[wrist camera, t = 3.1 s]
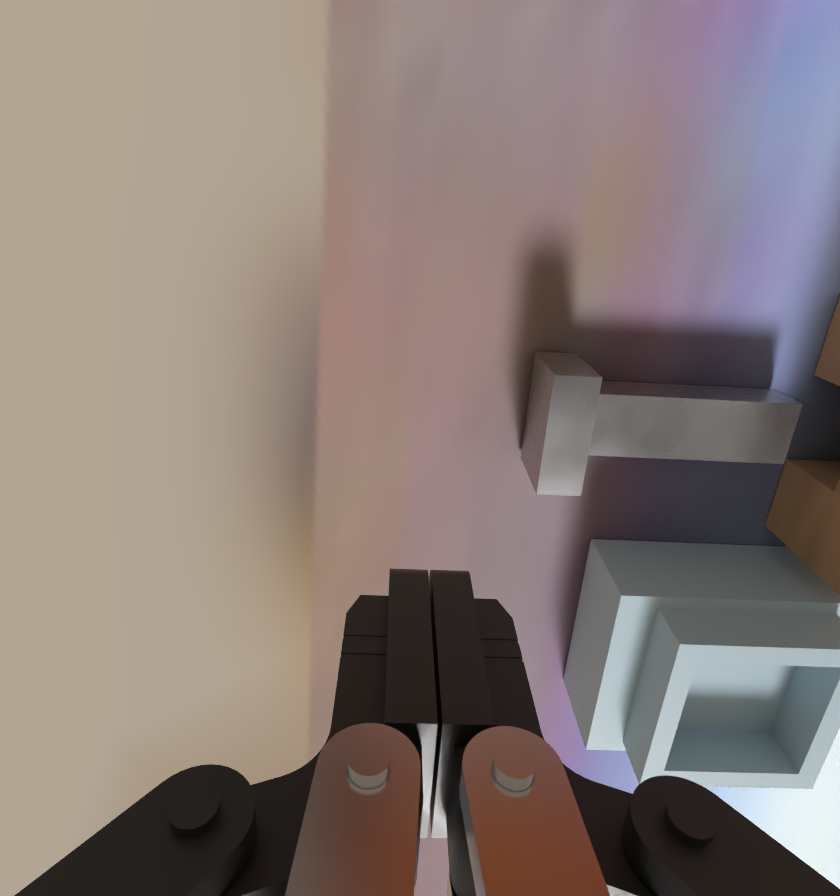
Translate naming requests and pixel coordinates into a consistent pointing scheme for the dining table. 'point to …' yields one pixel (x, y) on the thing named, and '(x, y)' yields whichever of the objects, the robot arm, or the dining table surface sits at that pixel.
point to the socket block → (813, 491)
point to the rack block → (707, 662)
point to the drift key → (643, 422)
